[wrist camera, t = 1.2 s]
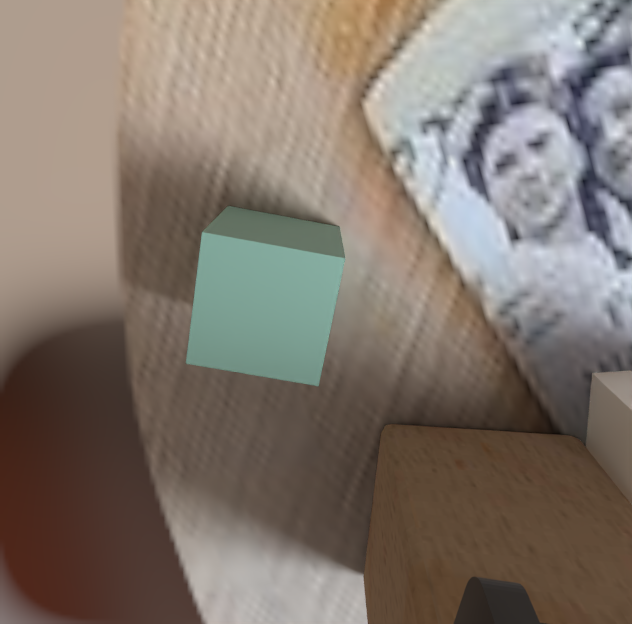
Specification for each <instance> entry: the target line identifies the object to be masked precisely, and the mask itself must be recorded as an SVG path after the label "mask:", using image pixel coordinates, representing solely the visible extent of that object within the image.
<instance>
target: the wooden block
mask: <svg viewBox="0 0 632 624" xmlns="http://www.w3.org/2000/svg"><path fill="white" fill-rule="evenodd" d="M471 577H481V578H488V579H495V580H501V581H508V582H515V583H519V584H521V585H522V586H523V587H524V588H525V590H526V592H527V594H528V596H529V598H530V601H531V603H532V605H533V608H534V610H535V612H536V615H537V617H538V619H539V622H540V623H547V624H632V504H631V503H630V502H629V501H628V499H627V498H626V497H625V496H624V494H623V493H622V492H621V491H620V489H619V488H618V487H617V486H616V484H615V483H614V482H613V481H612V479H611V478H610V477H609V476H608V474H607V473H606V472H605V471H604V469H603V468H602V467H601V466H600V464H599V463H598V462H597V461H596V459H595V458H594V457H593V456H592V454H591V453H590V452H589V451H588V449H587V448H586V447H585V446H584V444H583V443H582V442H581V441H580V439H578V438H576V437H573V436H570V435H556V434H541V433H525V432H509V431H494V430H478V429H462V428H446V427H431V426H415V425H399V424H389V425H385V427H384V429H383V431H382V432H381V437H380V445H379V453H378V462H377V470H376V478H375V487H374V495H373V503H372V512H371V520H370V528H369V537H368V545H367V553H366V561H365V570H364V587H365V597H366V608H367V619H368V624H454V621H455V618H456V615H457V612H458V609H459V606H460V603H461V600H462V597H463V594H464V591H465V588H466V585H467V583H468V581H469V579H470V578H471Z"/></svg>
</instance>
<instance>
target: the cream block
mask: <svg viewBox="0 0 632 624" xmlns="http://www.w3.org/2000/svg"><path fill="white" fill-rule="evenodd" d="M586 448H587V449H588V451H589V452H590V453H591V454H592V456H593V457H594V458H595V459H596V461H597V462H598V463H599V464H600V466H601V467H602V468H603V469H604V471H605V472H606V473H607V474H608V476H609V477H610V478H611V479H612V481H613V482H614V483H615V484H616V486H617V487H618V488H619V489H620V491H621V492H622V493H623V494H624V496H625V497H626V498H627V499H628V501H629V502H630V503H631V504H632V370H630V371H615V372H600V373H592V380H591V391H590V403H589V414H588V425H587V436H586Z"/></svg>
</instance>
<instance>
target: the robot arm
mask: <svg viewBox="0 0 632 624" xmlns="http://www.w3.org/2000/svg"><path fill="white" fill-rule="evenodd" d="M454 624H547V623H540V622H539V619H538V617H537V615H536V612H535V610H534V608H533V605H532V603H531V601H530V598H529V596H528V594H527V592H526V590H525V588H524V587H523V586H522V585H521V584H519V583H515V582H508V581H501V580H495V579H488V578H481V577H471V578H470V579H469V581H468V583H467V585H466V588H465V591H464V594H463V597H462V600H461V603H460V606H459V609H458V612H457V615H456V618H455V621H454Z"/></svg>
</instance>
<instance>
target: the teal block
mask: <svg viewBox="0 0 632 624" xmlns="http://www.w3.org/2000/svg"><path fill="white" fill-rule="evenodd" d="M344 262H345V254H344V249H343V243H342V238H341V233H340V227H339V226H333V225H328V224H323V223H317V222H312V221H307V220H301V219H296V218H291V217H285V216H280V215H275V214H269V213H264V212H259V211H253V210H248V209H243V208H237V207H232V206H227V207H226V208H225V209H224V210H223V211H222V212H221V213H220V214H219V215H218V216H217V217H216V218H215V219H214V220H213V221H212V222H211V223H210V224H209V225H208V226H207V227H206V228H205V229H204V230H203V231H202V236H201V244H200V252H199V260H198V268H197V277H196V285H195V293H194V301H193V309H192V317H191V325H190V334H189V342H188V350H187V358H186V364H191V365H197V366H203V367H209V368H215V369H220V370H226V371H232V372H238V373H244V374H250V375H256V376H261V377H267V378H273V379H279V380H285V381H291V382H297V383H302V384H308V385H314V386H319V382H320V377H321V372H322V367H323V363H324V358H325V353H326V348H327V344H328V339H329V334H330V329H331V324H332V320H333V315H334V310H335V305H336V300H337V296H338V291H339V286H340V281H341V277H342V272H343V267H344Z"/></svg>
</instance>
